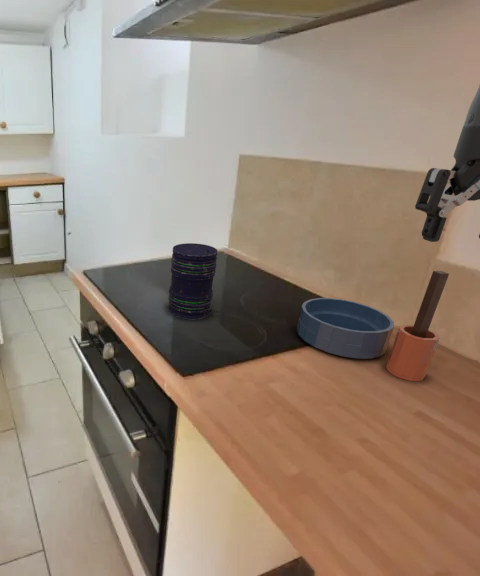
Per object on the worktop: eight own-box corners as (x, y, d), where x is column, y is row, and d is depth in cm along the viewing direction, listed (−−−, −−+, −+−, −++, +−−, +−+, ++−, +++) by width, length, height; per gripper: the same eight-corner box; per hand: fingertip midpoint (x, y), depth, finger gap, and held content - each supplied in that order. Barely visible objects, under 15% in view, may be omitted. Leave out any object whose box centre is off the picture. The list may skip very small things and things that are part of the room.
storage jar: (160, 312, 88) (164, 250, 82) (177, 298, 96) (182, 241, 90) (202, 323, 83) (209, 258, 77) (216, 307, 90) (224, 247, 85)
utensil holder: (408, 364, 68) (422, 324, 65) (431, 381, 64) (448, 340, 61) (379, 364, 68) (392, 324, 65) (400, 381, 64) (415, 340, 61)
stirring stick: (411, 367, 66) (446, 270, 60) (417, 372, 65) (454, 273, 58) (393, 367, 66) (427, 270, 60) (399, 372, 65) (435, 273, 58)
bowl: (352, 322, 83) (359, 297, 81) (404, 361, 69) (415, 332, 67) (283, 322, 83) (288, 297, 81) (321, 361, 69) (328, 332, 67)
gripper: (473, 123, 47) (431, 248, 54) (588, 122, 47) (532, 247, 54) (425, 124, 54) (393, 234, 61) (525, 123, 54) (482, 233, 60)
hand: (458, 240), depth 57 cm, fingers open, 8 cm apart
